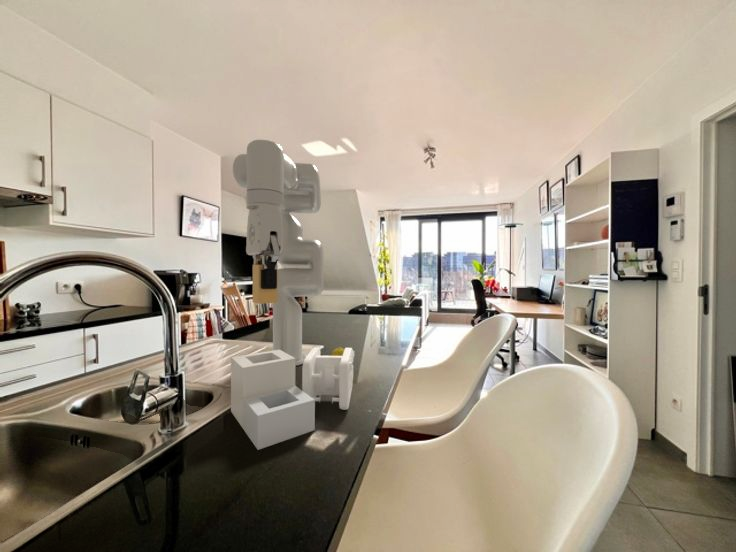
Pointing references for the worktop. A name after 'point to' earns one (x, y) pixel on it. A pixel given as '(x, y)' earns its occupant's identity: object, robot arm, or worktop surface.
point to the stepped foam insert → (269, 398)
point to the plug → (263, 294)
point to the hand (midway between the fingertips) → (265, 287)
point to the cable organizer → (328, 376)
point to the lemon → (338, 352)
